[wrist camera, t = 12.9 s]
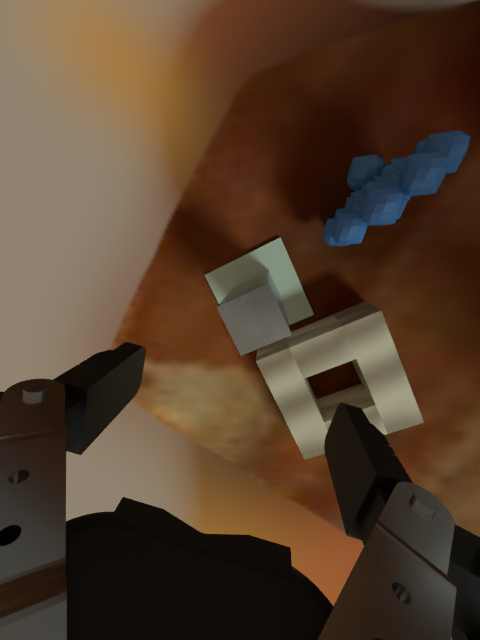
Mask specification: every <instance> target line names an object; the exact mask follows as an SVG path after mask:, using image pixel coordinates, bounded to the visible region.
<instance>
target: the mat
mask: <svg viewBox="0 0 480 640" xmlns="http://www.w3.org/2000/svg"><path fill="white" fill-rule="evenodd" d="M268 270H269V271H270V274H271V276H272V278H273V280H274V282H275V285H276V287H277V289H278V291H279V294H280V296H281V298H282V300H283V303H284V305H285V309H286V313H287V317H288V321H289V325H291V324H293V323H296V322H298V321H300V320H303V319H305V318H308V317H310V316H312V315H314V313H313V311H312V309H311V306H310V304H309V302H308V300H307V297H306V295H305V293H304V290H303V288H302V286H301V283H300V281H299V279H298V277H297V274H296V272H295V270H294V267H293V265H292V263H291V260H290V258H289V256H288V254H287V251H286V249H285V247H284V244H283V242H282V240H281V237H280V238H278V239H276V240H274V241H272V242H270V243H268V244H266V245H264V246H262V247H260V248H258V249H256V250H254V251H252V252H250V253H248V254H246V255H244V256H242V257H240V258H238V259H236V260H234V261H232V262H230V263H228V264H226V265H224V266H222V267H220V268H218V269H216V270H214V271H212V272H210V273H208V274H206V275H205V277H206V279H207V281H208V283H209V285H210V287H211V289H212V291H213V293H214V295H215V297H216V299H217V301H218V303H219V304H220V303H221V301H222V300H223V299H224V298H225V297H226V296H227V295H228V293H229V292H230V291H231V290H232V289H233V288H234V287H235V286H236V285H238V284H240V283H243V282H245V281H247V280H249V279H251V278H253V277H255V276H257V275H260V274H262V273H264V272H266V271H268Z"/></svg>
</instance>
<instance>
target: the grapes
mask: <svg viewBox="0 0 480 640" xmlns="http://www.w3.org/2000/svg"><path fill="white" fill-rule="evenodd" d="M469 140H470V136H469V135H468V134H467V133H466V132H463V131H447V132H442V133H437V134H433V135H429V136H428V139H426V140H421V141H418V143H417V146H416V148H415V150H414V152H413V154H411V155H409V156H408V157H399V158H393V159H392V160H390V162H389V164H388V165H384V160H383V158H382V157H381V156H378V155H364V156H359V157H354V158H353V159H352V162H351V165H350V169H349V173H348V178H347V183H348V186H349V188H350V189H351V190H355V192H353V193H351V195H350V197H347V200H346V204H345V208H341V209H337V210H336V213H335V216H334V218H330V219H327V222H326V225H325V230H324V235H323V239H324V242H325V243H326V244H327V245H330V246H347V245H349V244H358V243H361V242H362V240H363V237H364V235H365V232H366V229H367V226H369V225H389V224H395V222H396V220H397V219H400V217H401V215H402V213H403V211H404V208H405V206H406V204H407V201H409V199H410V197H411V196H419V195H428V194H435V193H436V192H437V190H438V188H439V186H440V184H441V183H442V181H443V179H444V177H445V175H446V174H447V173H454V172H456V170H457V168H458V167H459V165H460V163H461V162H462V160H463V158H464V156H465V154H466V153H467V148H468V144H469Z"/></svg>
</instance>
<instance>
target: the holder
mask: <svg viewBox="0 0 480 640" xmlns="http://www.w3.org/2000/svg"><path fill="white" fill-rule="evenodd" d="M291 333H292V335H290V336H288V337H286V338H283V339H281V340H278V341H276V342H273V343H271V344H268V345H266V346H264V347H261V348H259V349H257V356H256V363H257V365H258V367H259V369H260V371H261V373H262V375H263V377H264V379H265V381H266V383H267V385H268V387H269V389H270V391H271V393H272V395H273V397H274V399H275V401H276V403H277V405H278V407H279V409H280V411H281V413H282V415H283V417H284V419H285V421H286V423H287V425H288V427H289V429H290V431H291V433H292V435H293V437H294V439H295V441H296V443H297V445H298V447H299V449H300V451H301V453H302V455H303V457H304V459H309V458H312V457H315V456H318V455H321V454H325V451H324V442H325V437H326V434H327V431H328V429H329V426H330V424H331V421H332V419H333V416H334V414H335V411H336V409H337V407H338V405H339V404H340V403H346V404H349V405H353V406H357V407H360V408H362V410H363V411H364V413H365V415H366V417H367V418H368V420H369V422H370V424H373V425H374V426H375V427H376V428H377V429H378V430H379V431H380V432H381V433H382V434H384V435H386V434H389V433H392V432H395V431H398V430H402V429H405V428H408V427H411V426H414V425H418V424H421V423H424V421H423V419H422V416H421V413H420V411H419V408H418V406H417V403H416V400H415V398H414V395H413V392H412V390H411V387H410V385H409V382H408V379H407V377H406V374H405V371H404V369H403V366H402V364H401V361H400V358H399V356H398V353H397V350H396V348H395V345H394V343H393V340H392V337H391V335H390V332H389V329H388V327H387V324H386V322H385V319H384V316H383V314H382V311H381V310H380V309H378V308H376V307H374V306H373V305H371V304H369V303H367V302H366V301H364V302H361V303H359V304H356V305H354V306H352V307H349V308H347V309H345V310H342V311H340V312H337V313H335V314H333V315H330V316H328V317H325V318H323V319H321V320H318V321H316V322H313V323H311V324H309V325H306V326H304V327H301V328H299V329H297V330H294V331H292V332H291ZM350 361H352V363H353V365H354V367H355V370H356V372H357V374H358V377H359V379H360V382H361V384H358V385H355V386H352V387H350V388H347V389H344V390H341V391H338V392H336V393H333V394H330V395H327V396H324V397H322V398H319V399H317V398H316V396H315V394H314V392H313V390H312V388H311V386H310V383H309V381H308V379H307V377H310V376H312V375H315V374H318V373H320V372H323V371H326V370H328V369H331V368H334V367H336V366H339V365H342V364H344V363H347V362H350Z"/></svg>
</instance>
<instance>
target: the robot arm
mask: <svg viewBox="0 0 480 640" xmlns="http://www.w3.org/2000/svg"><path fill="white" fill-rule="evenodd" d="M145 355H146V349H145V347H143V346H139V345H136V344H132V343H128V342H125V343H124V344H122V345H121V346H119V347H118V348H116V349H115V350H113V351H112V350H107V351H104V352H100V353H97V354H95V355H93V356H91V357H90V358H88V359H87V360H85V361H83V362H82V363H80V364H79V365H77V366H75V367H73V368H72V369H70V370H68V371H67V372H65V373H63V374H62V375H60V376H58V377H57V378H55V379H54V380H50V379H31V380H26V381H22V382H19V383H17V384H14V385H12V386H11V387H9V388H8V389H7V390H6V391H5V392H0V640H451V637H452V640H480V537H478V536H476V535H474V534H472V533H470V532H469V531H467V530H465V529H463V528H461V527H459V526H457V525H455V524H454V519H453V517H452V515H451V514H450V512H449V511H448V509H447V508H446V507H445V506H444V505H443V503H442V502H441V501H439V500H438V499H437V498H436V497H435V496H434V495H432V494H431V493H430V492H428V491H427V490H425V489H423V488H422V487H420V486H418V485H415V484H413V482H412V481H411V479H410V478H409V476H408V474H407V473H406V471H405V469H404V468H403V466H402V464H401V463H400V461H399V459H398V458H397V456H395V453H394V451H393V449H392V448H391V447H390V444H389V443H388V441H387V439H386V438H385V436H384V434H382V433H381V432H380V431H379V430H378V429H377V428H376V427H375V426H374V425H373V424H370V422H369V420H368V418H367V417H366V415H365V413H364V411H363V410H362V408H360V407H357V406H353V405H349V404H346V403H340V404H339V405H338V407H337V409H336V411H335V414H334V416H333V419H332V421H331V424H330V426H329V429H328V431H327V434H326V437H325V442H324V451H325V455H326V459H327V462H328V466H329V470H330V474H331V478H332V482H333V485H334V489H335V493H336V497H337V501H338V504H339V508H340V512H341V516H342V520H343V523H344V527H345V531H346V535H347V536H350V537H353V538H356V539H360V540H362V541H363V544H364V548H363V550H362V552H361V554H360V556H359V557H358V560H357V561H356V563H355V565H354V567H353V569H352V571H351V573H350V575H349V577H348V579H347V581H346V583H345V585H344V587H343V589H342V591H341V593H340V595H339V597H338V599H337V601H336V602H335V604H334V606H333V605H332V604H331V603H330V602H329V600H328V599H327V598H326V596H325V595H324V594H323V593H322V592H321V591H320V590H319V589H318V587H317V586H316V585H315V584H314V583H312V582H311V581H310V580H309V579H308V578H307V577H306V576H304V575H303V574H302V573H301V572H299V571H298V570H297V569H295V568H294V567H292V565H291V550H290V547H286V546H283V545H280V544H277V543H273V542H270V541H267V540H263V539H260V538H257V537H253V536H250V535H226V534H204V533H201V532H199V531H197V530H196V529H194V528H192V527H191V526H189V525H188V524H186V523H184V522H183V521H181V520H180V519H178V518H177V517H175V516H173V515H172V514H170V513H169V512H167V511H165V510H164V509H161V508H158V507H154V506H151V505H148V504H144V503H141V502H137V501H134V500H131V499H128V498H125V497H123V498H122V499H121V501H120V503H119V505H118V506H117V508H116V510H115V511H114V512H99V513H93V514H88V515H83V516H80V517H77V518H74V519H71V520H68V521H66V452H67V451H69V452H72V453H75V454H79V455H81V454H82V453H83V452H84V451H85V450H86V449H87V447H88V446H89V445H90V444H91V443H92V442H93V441H94V440H95V439H96V438H97V437H98V436H99V435H100V433H101V432H102V431H103V430H104V429H105V428H106V427H107V426H108V425H109V423H110V422H111V421H112V420H113V419H114V418H115V417H116V416H117V415H118V414H119V413H120V412H121V411H122V409H123V408H124V407H125V406H126V405H127V404H128V403H129V402H130V401H131V400H132V399H133V398H134V396H135V395H136V393H137V392H138V389H139V387H140V384H141V379H142V373H143V367H144V361H145Z"/></svg>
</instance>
